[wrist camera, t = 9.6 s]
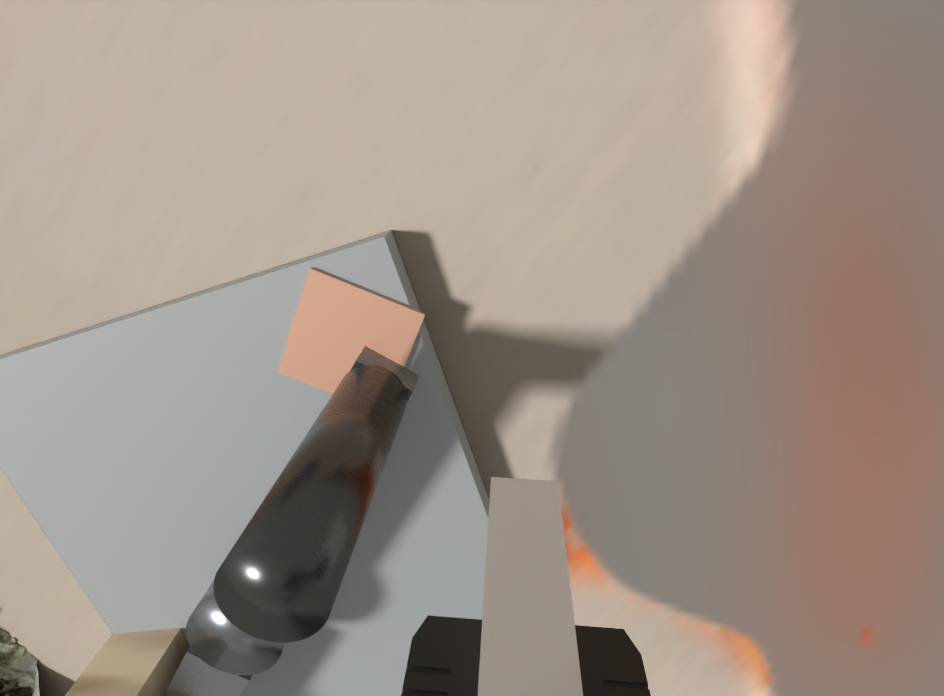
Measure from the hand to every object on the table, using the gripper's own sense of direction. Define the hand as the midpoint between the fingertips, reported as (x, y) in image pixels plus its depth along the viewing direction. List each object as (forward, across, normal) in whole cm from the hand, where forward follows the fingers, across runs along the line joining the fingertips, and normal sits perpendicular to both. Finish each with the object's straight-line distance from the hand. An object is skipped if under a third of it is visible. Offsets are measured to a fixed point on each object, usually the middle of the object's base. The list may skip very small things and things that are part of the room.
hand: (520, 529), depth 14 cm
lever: (+11, -10, -10) cm, 18 cm away
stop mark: (+12, -7, 0) cm, 14 cm away
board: (+13, -12, -11) cm, 21 cm away
